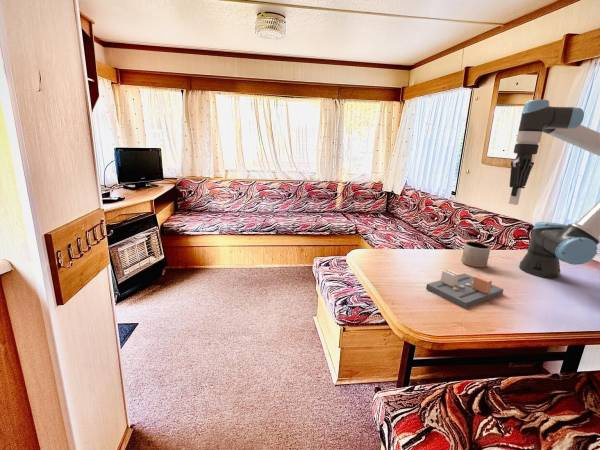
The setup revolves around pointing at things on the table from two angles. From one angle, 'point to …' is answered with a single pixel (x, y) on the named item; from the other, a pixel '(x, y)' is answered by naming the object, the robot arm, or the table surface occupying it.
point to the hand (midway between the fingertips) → (513, 204)
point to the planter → (475, 254)
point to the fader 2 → (482, 284)
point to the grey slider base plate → (463, 291)
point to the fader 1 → (449, 277)
